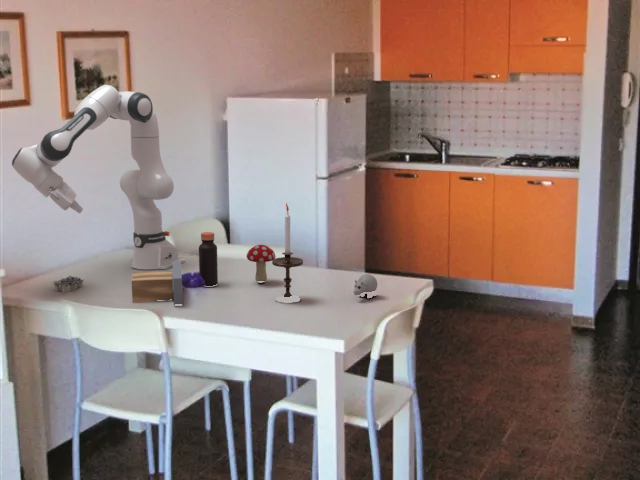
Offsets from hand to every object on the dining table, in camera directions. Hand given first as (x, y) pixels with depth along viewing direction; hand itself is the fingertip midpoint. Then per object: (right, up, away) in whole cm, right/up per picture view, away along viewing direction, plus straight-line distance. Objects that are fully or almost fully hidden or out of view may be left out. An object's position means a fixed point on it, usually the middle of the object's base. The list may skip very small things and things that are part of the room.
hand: (81, 211), depth 322 cm
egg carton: (-7, -29, +9) cm, 31 cm away
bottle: (+44, -28, +14) cm, 54 cm away
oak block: (+26, -31, -2) cm, 41 cm away
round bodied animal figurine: (+102, -32, -3) cm, 106 cm away
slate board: (+35, -31, -1) cm, 46 cm away
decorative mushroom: (+64, -27, +17) cm, 71 cm away
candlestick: (+75, -32, -5) cm, 81 cm away
